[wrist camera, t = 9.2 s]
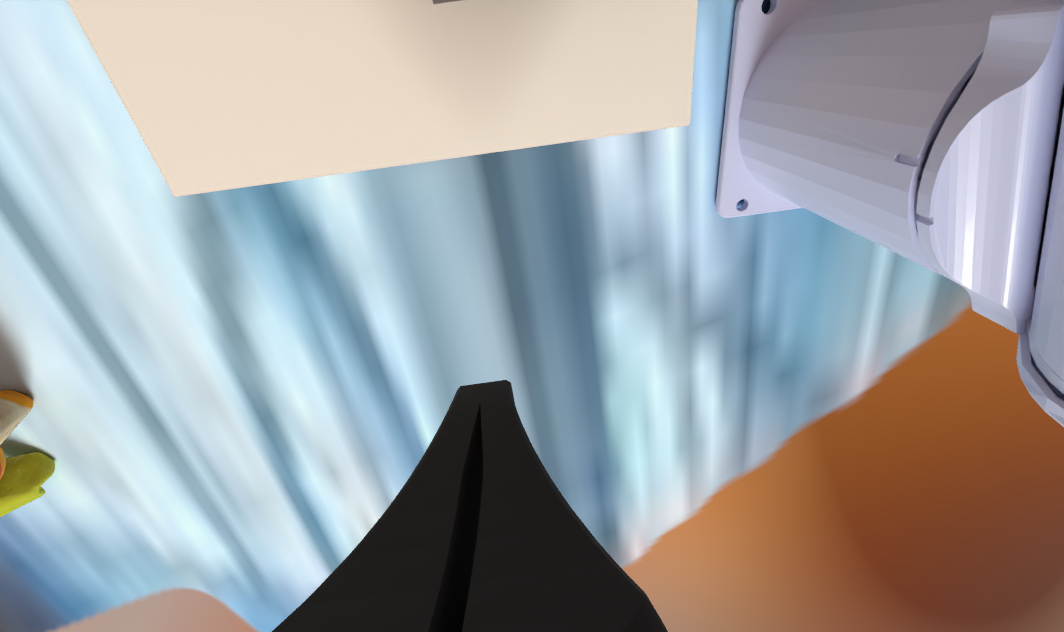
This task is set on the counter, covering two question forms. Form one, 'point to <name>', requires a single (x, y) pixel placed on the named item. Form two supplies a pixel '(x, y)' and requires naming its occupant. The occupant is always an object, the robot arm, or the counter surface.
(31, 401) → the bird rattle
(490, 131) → the card
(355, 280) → the counter surface
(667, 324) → the counter surface
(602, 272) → the counter surface
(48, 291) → the counter surface
